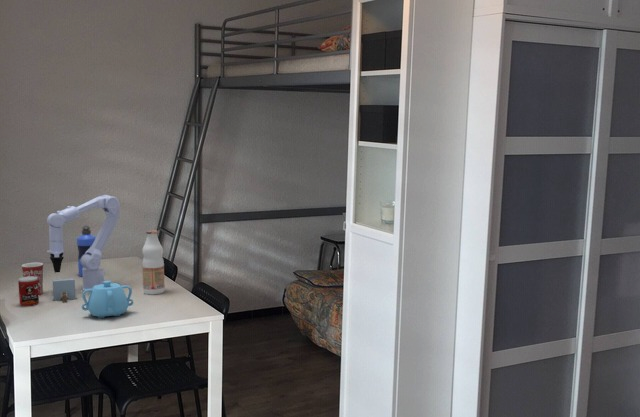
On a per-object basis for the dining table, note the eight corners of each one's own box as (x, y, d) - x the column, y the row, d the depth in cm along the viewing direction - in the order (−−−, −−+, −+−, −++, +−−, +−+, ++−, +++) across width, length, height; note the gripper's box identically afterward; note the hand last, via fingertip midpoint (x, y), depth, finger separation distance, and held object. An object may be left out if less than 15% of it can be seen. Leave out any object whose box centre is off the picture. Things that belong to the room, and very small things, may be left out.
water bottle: (102, 274, 361) (99, 225, 358) (87, 278, 353) (84, 227, 350) (89, 272, 366) (87, 223, 363) (74, 276, 358) (72, 226, 355)
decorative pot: (108, 322, 278) (106, 288, 277) (78, 316, 286) (76, 283, 284) (137, 312, 293) (136, 279, 291) (108, 307, 300) (107, 275, 298)
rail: (66, 295, 319) (65, 289, 319) (66, 302, 308) (66, 295, 308) (62, 296, 319) (62, 289, 319) (62, 302, 308) (62, 295, 307)
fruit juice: (141, 295, 320) (139, 232, 316) (145, 289, 329) (143, 229, 326) (162, 294, 320) (160, 232, 317) (166, 289, 330) (164, 229, 326)
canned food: (20, 307, 301) (19, 281, 300) (18, 302, 308) (17, 277, 307) (40, 304, 304) (38, 279, 303) (38, 300, 311) (36, 275, 310)
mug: (44, 295, 320) (42, 265, 318) (22, 297, 317) (20, 267, 315) (45, 289, 332) (44, 260, 330) (24, 290, 329) (23, 261, 327)
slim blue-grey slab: (75, 297, 316) (74, 278, 315) (75, 298, 314) (74, 279, 313) (53, 299, 313) (52, 280, 312) (53, 300, 311) (52, 281, 310)
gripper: (46, 238, 326) (47, 267, 328) (46, 243, 313) (47, 274, 314) (63, 237, 329) (64, 267, 330) (63, 242, 315) (64, 273, 317)
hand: (57, 270), depth 323 cm, fingers open, 7 cm apart
